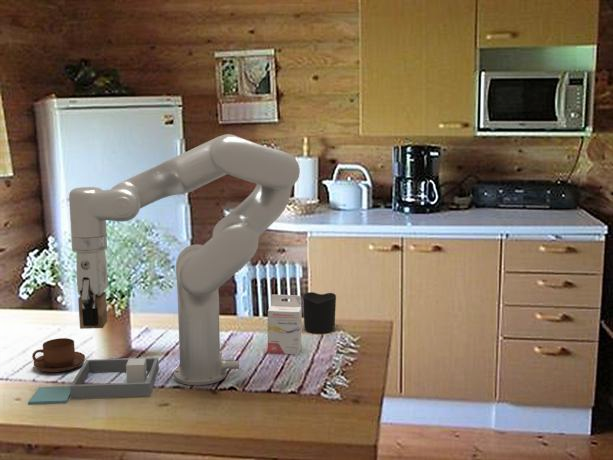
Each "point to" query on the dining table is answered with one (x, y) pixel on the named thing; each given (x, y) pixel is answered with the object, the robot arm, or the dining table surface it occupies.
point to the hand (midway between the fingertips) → (93, 320)
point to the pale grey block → (136, 370)
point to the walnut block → (101, 311)
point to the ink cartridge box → (284, 324)
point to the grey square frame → (112, 389)
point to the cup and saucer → (58, 356)
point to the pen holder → (319, 312)
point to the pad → (51, 395)
